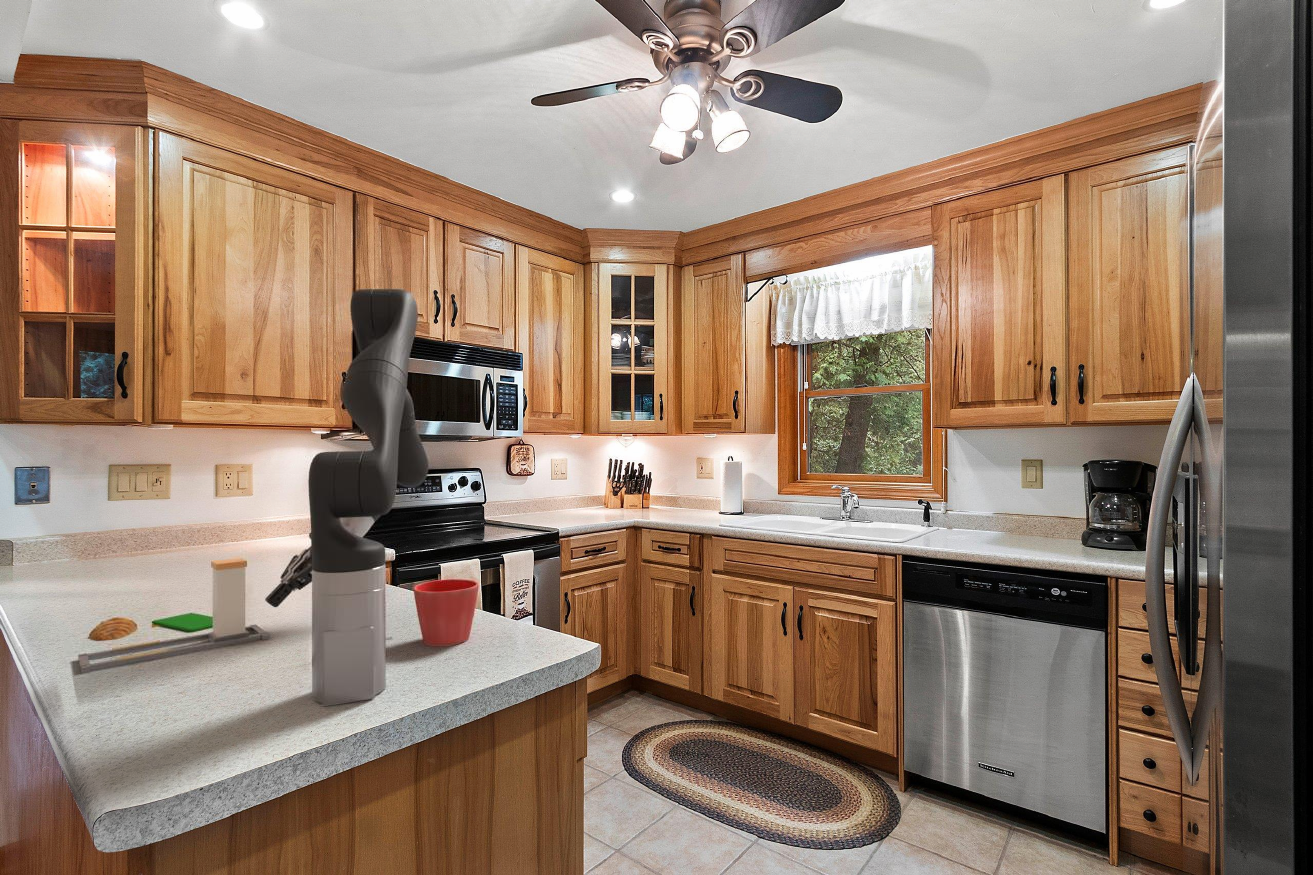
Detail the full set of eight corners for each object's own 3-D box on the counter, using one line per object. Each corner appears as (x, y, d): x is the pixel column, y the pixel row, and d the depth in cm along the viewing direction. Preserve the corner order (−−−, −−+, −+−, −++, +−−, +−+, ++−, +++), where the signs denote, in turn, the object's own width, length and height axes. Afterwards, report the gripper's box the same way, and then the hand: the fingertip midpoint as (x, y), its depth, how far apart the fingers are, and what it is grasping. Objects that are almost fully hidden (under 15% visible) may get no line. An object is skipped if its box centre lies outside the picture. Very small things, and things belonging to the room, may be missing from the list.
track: (255, 636, 117) (255, 623, 117) (268, 646, 110) (268, 632, 110) (78, 668, 100) (78, 653, 100) (81, 683, 94) (81, 666, 94)
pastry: (135, 645, 113) (135, 623, 113) (84, 653, 109) (84, 631, 109) (137, 633, 120) (137, 613, 120) (89, 641, 116) (89, 619, 116)
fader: (242, 633, 114) (242, 557, 114) (249, 639, 110) (249, 560, 110) (208, 639, 110) (208, 561, 111) (214, 645, 107) (214, 564, 107)
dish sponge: (190, 642, 115) (190, 629, 115) (150, 633, 121) (150, 620, 121) (232, 632, 121) (232, 619, 121) (192, 624, 128) (192, 612, 128)
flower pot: (482, 644, 110) (482, 587, 111) (414, 652, 106) (414, 593, 107) (475, 628, 120) (475, 576, 121) (413, 635, 116) (412, 581, 117)
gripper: (316, 513, 126) (243, 586, 118) (339, 518, 117) (262, 597, 108) (345, 538, 130) (276, 610, 121) (369, 544, 120) (297, 623, 112)
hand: (270, 604), depth 115 cm, fingers closed
